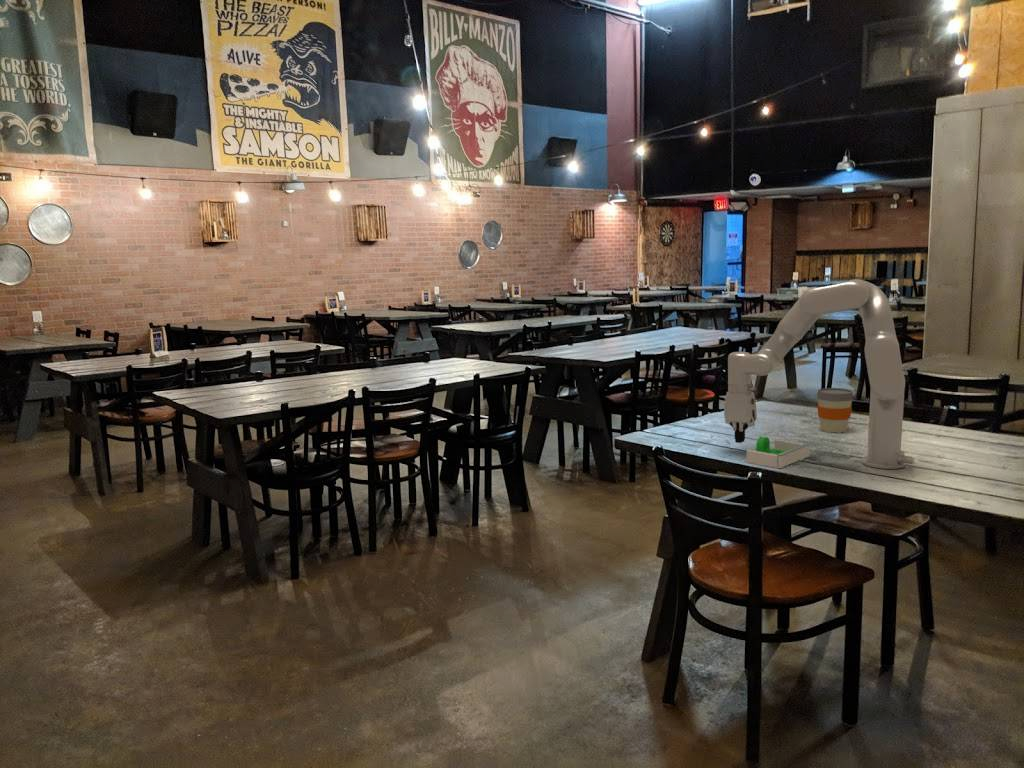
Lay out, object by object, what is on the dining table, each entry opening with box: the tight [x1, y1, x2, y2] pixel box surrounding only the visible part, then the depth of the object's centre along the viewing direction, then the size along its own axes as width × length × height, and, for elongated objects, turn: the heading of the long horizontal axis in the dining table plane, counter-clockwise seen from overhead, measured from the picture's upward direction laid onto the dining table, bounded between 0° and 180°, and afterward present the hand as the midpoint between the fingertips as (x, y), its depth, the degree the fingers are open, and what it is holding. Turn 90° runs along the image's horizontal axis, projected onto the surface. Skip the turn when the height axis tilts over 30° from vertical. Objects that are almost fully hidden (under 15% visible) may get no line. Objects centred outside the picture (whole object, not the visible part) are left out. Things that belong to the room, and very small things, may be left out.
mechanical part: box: [755, 436, 785, 455], centre depth 258 cm, size 12×6×8 cm, turn 136°
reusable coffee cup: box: [816, 387, 854, 433], centre depth 294 cm, size 13×13×15 cm
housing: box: [746, 439, 811, 469], centre depth 257 cm, size 12×19×4 cm, turn 134°
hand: (739, 441), depth 268 cm, fingers closed
